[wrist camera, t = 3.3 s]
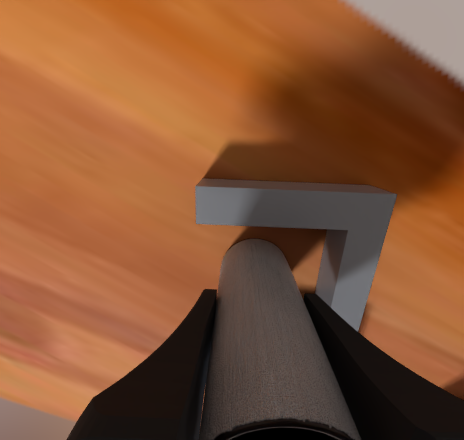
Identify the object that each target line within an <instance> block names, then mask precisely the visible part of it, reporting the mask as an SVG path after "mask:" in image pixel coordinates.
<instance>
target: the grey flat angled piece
mask: <svg viewBox="0 0 464 440" xmlns="http://www.w3.org/2000/svg"><path fill="white" fill-rule="evenodd" d="M195 188H196V224H212V225H236V226H260V227H284V228H308V229H327V232H326V238H325V243H324V248H323V253H322V259H321V264H320V269H319V275H318V280H317V285H316V290H315V294H317V295H318V296H319V297H320V298H321V299H322V300H323V301H324V302H326V303H327V304H328V305H329V306H330V307H331V308H332V309H333V310H334V311H335V312H336V313H337V314H338V315H339V316H340V317H341V318H343V319H344V320H345V321H346V322H347V323H348V324H349V325H350V326H352V327H353V328H354V329H355V330H356V331H357V332H358V330H359V326H360V323H361V319H362V316H363V312H364V309H365V305H366V302H367V298H368V295H369V291H370V288H371V285H372V281H373V278H374V274H375V271H376V267H377V264H378V260H379V257H380V253H381V250H382V246H383V243H384V239H385V236H386V232H387V229H388V225H389V222H390V218H391V215H392V211H393V208H394V204H395V201H396V197H397V194H395V193H392V192H389V191H386V190H383V189H380V188H377V187H374V186H371V185H356V184H331V183H307V182H282V181H257V180H232V179H207V178H203V179H202V180H201V181H200V182H199V183H198V184H197V185H196V186H195Z"/></svg>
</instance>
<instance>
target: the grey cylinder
mask: <svg viewBox="0 0 464 440" xmlns="http://www.w3.org/2000/svg"><path fill="white" fill-rule="evenodd" d="M199 440H361V437H360V435H359V433H358V430H357V428H356V425H355V423H354V420H353V418H352V416H351V413H350V411H349V408H348V406H347V404H346V401H345V399H344V396H343V394H342V392H341V389H340V387H339V384H338V382H337V380H336V377H335V375H334V372H333V370H332V368H331V365H330V363H329V360H328V358H327V356H326V353H325V351H324V348H323V346H322V344H321V341H320V339H319V336H318V334H317V332H316V329H315V327H314V324H313V322H312V320H311V317H310V315H309V312H308V310H307V308H306V305H305V303H304V300H303V298H302V296H301V293H300V291H299V288H298V286H297V284H296V281H295V279H294V276H293V274H292V272H291V269H290V267H289V264H288V262H287V260H286V258H285V256H284V254H283V253H282V251H281V250H280V249H279V248H278V247H277V246H276V245H274V244H273V243H271V242H269V241H266V240H262V239H247V240H244V241H241V242H239V243H237V244H235V245H234V246H232V247H231V248H230V249H229V250H228V251H227V253H226V254H225V256H224V258H223V261H222V265H221V270H220V278H219V285H218V293H217V301H216V309H215V317H214V325H213V332H212V340H211V348H210V356H209V364H208V371H207V379H206V387H205V395H204V403H203V410H202V418H201V426H200V434H199Z"/></svg>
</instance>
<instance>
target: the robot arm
mask: <svg viewBox="0 0 464 440" xmlns="http://www.w3.org/2000/svg"><path fill="white" fill-rule="evenodd" d="M216 298H217V290H214V289H205V290H203V292H202V294H201V296H200V297H199V299H198V301H197V302H196V304H195V305H194V307H193V308H192V309H191V311H190V312H189V314H188V315H187V316H186V318H185V319H184V320H183V321H182V323H181V324H180V325H179V326H178V328H177V329H176V330H175V331H174V332H173V333H172V334H171V335H170V337H169V338H168V339H167V340H166V341H165V342H164V343H163V344H162V345H161V346H160V347H159V348H158V349H157V350H155V351H154V352H153V353H152V354H151V355H150V356H149V357H148V358H147V359H146V360H144V361H143V362H142V363H141V364H139V365H138V366H137V367H136V368H134V369H133V370H132V371H131V372H129V373H128V374H127V375H126V376H124V377H123V378H122V379H120V380H119V381H117V382H116V383H114V384H113V385H111V386H110V387H109V388H107V389H106V390H104V391H103V392H101V393H100V394H98V395H96V396H95V397H93V398H92V400H91V401H90V403H89V404H88V406H87V407H86V409H85V410H84V411H83V413H82V414H81V416H80V417H79V419H78V421H77V422H76V424H75V426H74V428H73V430H72V431H71V433H70V435H69V437H68V438H67V440H199V433H200V424H201V415H202V406H203V398H204V391H205V385H206V379H207V371H208V364H209V356H210V348H211V340H212V332H213V325H214V317H215V309H216ZM304 303H305V305H306V308H307V310H308V312H309V315H310V317H311V320H312V322H313V324H314V327H315V329H316V332H317V334H318V336H319V339H320V341H321V344H322V346H323V348H324V351H325V353H326V356H327V358H328V360H329V363H330V365H331V368H332V370H333V372H334V375H335V377H336V380H337V382H338V384H339V387H340V389H341V392H342V394H343V396H344V399H345V401H346V404H347V406H348V408H349V411H350V413H351V416H352V418H353V420H354V423H355V425H356V428H357V430H358V433H359V435H360V437H361V440H464V400H462V399H460V398H458V397H456V396H454V395H452V394H450V393H448V392H447V391H445V390H443V389H441V388H440V387H438V386H436V385H434V384H433V383H431V382H429V381H427V380H426V379H424V378H422V377H421V376H419V375H417V374H416V373H414V372H413V371H411V370H410V369H408V368H407V367H405V366H403V365H402V364H400V363H399V362H397V361H396V360H394V359H393V358H391V357H390V356H389V355H387V354H386V353H384V352H383V351H382V350H380V349H379V348H378V347H376V346H375V345H374V344H372V343H371V342H370V341H368V340H367V339H366V338H365V337H363V336H362V335H361V334H360V333H359V332H357V331H356V330H355V329H354V328H353V327H352V326H350V325H349V324H348V323H347V322H346V321H345V320H344V319H343V318H341V317H340V316H339V315H338V314H337V313H336V312H335V311H334V310H333V309H332V308H331V307H330V306H329V305H328V304H327V303H326V302H324V301H323V300H322V299H321V298H320V297H319V296H318V295H317V294H304Z"/></svg>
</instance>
